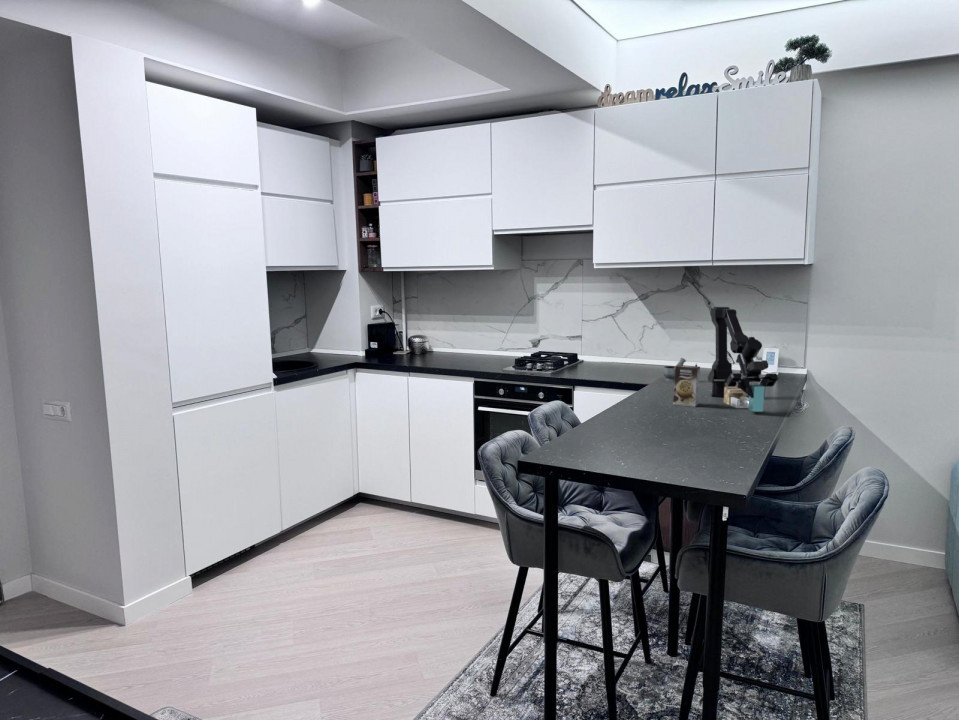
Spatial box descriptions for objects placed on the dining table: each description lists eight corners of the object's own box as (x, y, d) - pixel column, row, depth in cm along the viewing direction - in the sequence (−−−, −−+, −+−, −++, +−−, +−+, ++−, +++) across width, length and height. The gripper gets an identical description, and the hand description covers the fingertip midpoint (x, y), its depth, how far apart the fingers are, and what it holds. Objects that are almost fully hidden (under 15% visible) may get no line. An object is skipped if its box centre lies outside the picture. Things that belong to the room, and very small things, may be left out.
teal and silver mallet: (737, 404, 272) (738, 380, 271) (746, 404, 272) (748, 380, 271) (752, 411, 258) (754, 386, 257) (762, 411, 258) (764, 386, 257)
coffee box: (672, 404, 276) (674, 366, 273) (675, 402, 281) (677, 364, 279) (695, 407, 271) (697, 367, 269) (698, 404, 277) (700, 365, 275)
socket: (723, 402, 282) (724, 386, 281) (740, 402, 282) (741, 386, 281) (728, 404, 277) (729, 389, 276) (745, 404, 277) (746, 389, 276)
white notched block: (730, 405, 276) (731, 397, 275) (745, 405, 276) (746, 397, 276) (736, 408, 270) (737, 399, 269) (752, 408, 270) (752, 400, 270)
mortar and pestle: (659, 381, 333) (660, 357, 331) (664, 378, 341) (665, 355, 340) (682, 383, 328) (684, 359, 326) (686, 380, 336) (687, 357, 334)
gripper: (731, 352, 261) (741, 385, 251) (778, 353, 261) (790, 385, 252) (722, 369, 269) (731, 401, 260) (767, 369, 270) (778, 402, 261)
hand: (758, 397), depth 258 cm, fingers closed on teal and silver mallet, 4 cm apart
